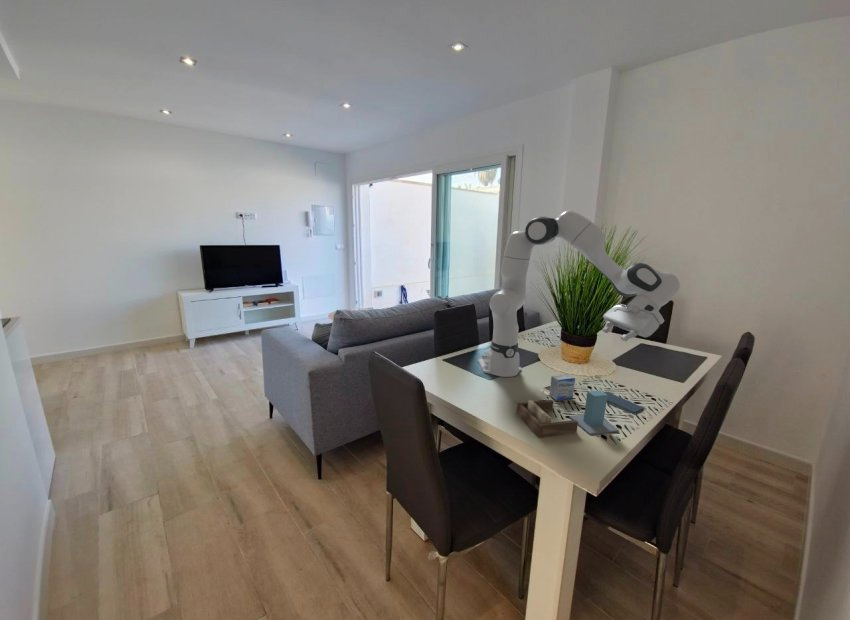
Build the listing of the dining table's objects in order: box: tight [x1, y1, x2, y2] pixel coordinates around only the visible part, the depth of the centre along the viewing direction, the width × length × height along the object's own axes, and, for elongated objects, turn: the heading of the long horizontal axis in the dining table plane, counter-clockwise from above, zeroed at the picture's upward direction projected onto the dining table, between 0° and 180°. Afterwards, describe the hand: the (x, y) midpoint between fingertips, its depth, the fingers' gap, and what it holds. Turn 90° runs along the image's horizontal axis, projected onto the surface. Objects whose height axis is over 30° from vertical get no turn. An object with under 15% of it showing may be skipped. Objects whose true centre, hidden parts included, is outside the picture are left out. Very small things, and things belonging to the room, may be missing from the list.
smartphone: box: [603, 391, 644, 415], centre depth 134 cm, size 8×2×15 cm
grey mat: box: [568, 413, 620, 436], centre depth 119 cm, size 11×11×1 cm
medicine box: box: [549, 374, 576, 401], centre depth 137 cm, size 8×4×9 cm, turn 106°
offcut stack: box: [527, 399, 552, 424], centre depth 118 cm, size 9×4×6 cm, turn 13°
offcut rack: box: [515, 399, 579, 438], centre depth 119 cm, size 15×14×4 cm
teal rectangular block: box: [583, 389, 608, 426], centre depth 118 cm, size 4×5×11 cm
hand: (613, 335), depth 127 cm, fingers open, 8 cm apart
